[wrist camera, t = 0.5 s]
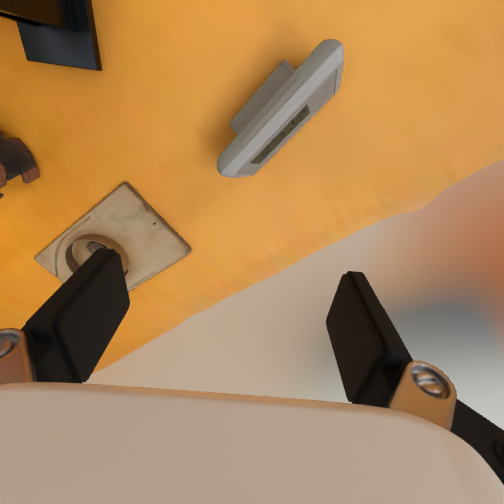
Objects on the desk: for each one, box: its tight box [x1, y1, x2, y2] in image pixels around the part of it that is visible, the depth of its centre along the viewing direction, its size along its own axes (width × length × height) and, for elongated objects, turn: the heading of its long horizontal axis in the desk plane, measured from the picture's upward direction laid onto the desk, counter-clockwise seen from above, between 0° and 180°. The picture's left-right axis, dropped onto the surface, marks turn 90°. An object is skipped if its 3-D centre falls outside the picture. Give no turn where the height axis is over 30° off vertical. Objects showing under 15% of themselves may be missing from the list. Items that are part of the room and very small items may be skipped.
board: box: [34, 182, 191, 292], centre depth 45 cm, size 25×15×3 cm, turn 126°
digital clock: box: [217, 39, 344, 178], centre depth 30 cm, size 16×9×11 cm, turn 124°
